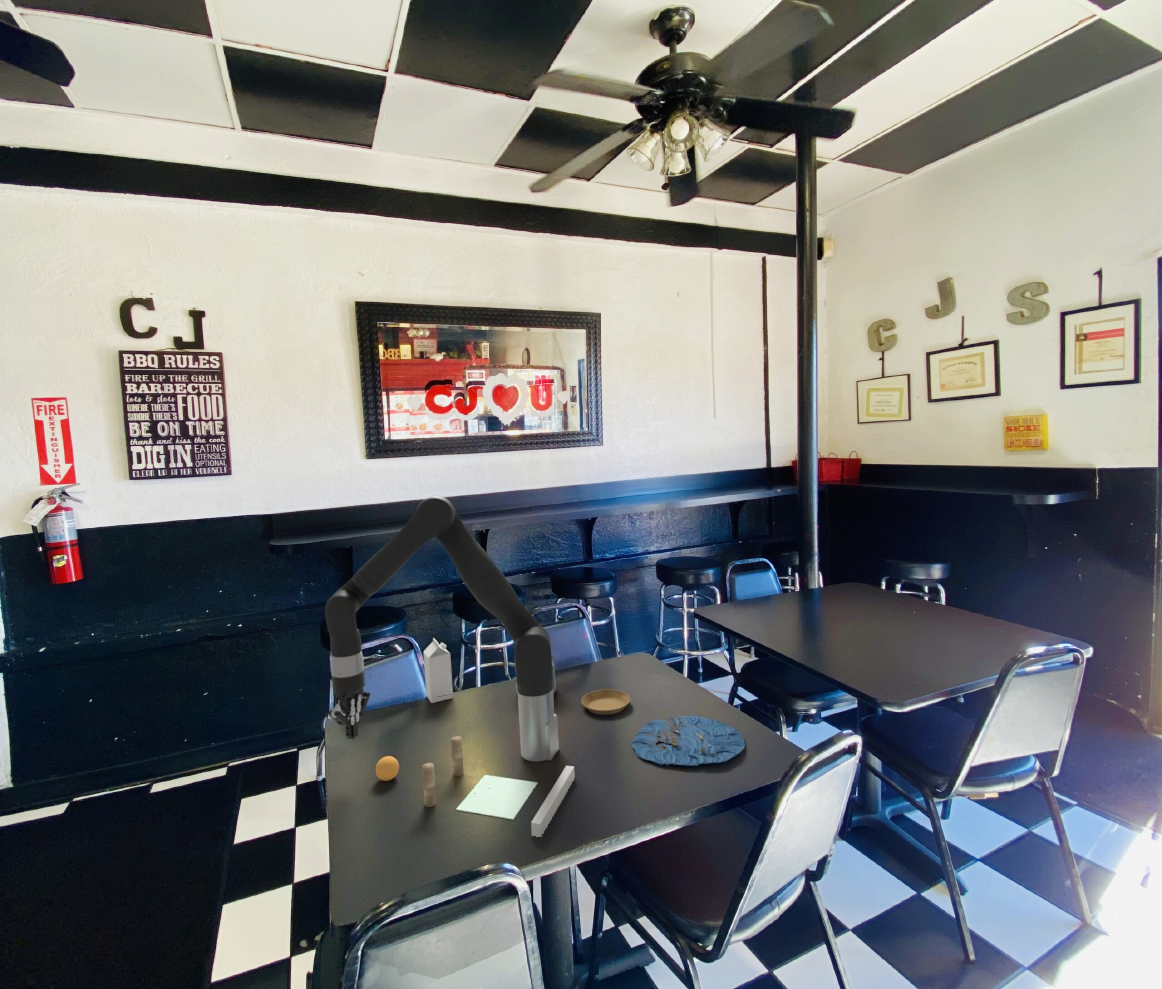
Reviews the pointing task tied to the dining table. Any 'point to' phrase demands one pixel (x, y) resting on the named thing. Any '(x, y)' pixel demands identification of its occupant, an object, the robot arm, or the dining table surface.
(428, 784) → the post left
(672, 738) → the decorative plate
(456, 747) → the post right
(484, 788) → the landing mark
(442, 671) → the milk carton
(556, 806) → the rail
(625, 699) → the plant saucer
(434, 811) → the dining table surface
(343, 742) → the dining table surface
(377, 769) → the ball
